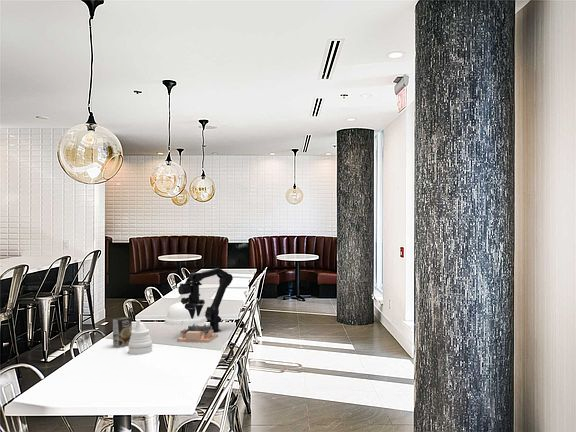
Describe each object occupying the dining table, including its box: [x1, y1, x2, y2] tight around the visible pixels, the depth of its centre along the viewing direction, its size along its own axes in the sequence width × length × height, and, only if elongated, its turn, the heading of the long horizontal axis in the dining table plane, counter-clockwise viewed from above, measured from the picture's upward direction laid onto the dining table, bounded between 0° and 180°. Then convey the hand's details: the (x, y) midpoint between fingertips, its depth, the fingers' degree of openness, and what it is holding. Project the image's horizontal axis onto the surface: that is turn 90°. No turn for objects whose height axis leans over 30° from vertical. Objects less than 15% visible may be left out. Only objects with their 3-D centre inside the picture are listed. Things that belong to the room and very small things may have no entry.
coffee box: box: [112, 316, 133, 349], centre depth 328 cm, size 9×6×16 cm
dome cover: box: [164, 301, 208, 327], centre depth 399 cm, size 32×30×14 cm
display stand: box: [176, 328, 219, 343], centre depth 341 cm, size 16×20×6 cm
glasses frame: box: [183, 323, 212, 335], centre depth 341 cm, size 10×15×4 cm
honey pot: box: [128, 319, 153, 356], centre depth 312 cm, size 13×13×18 cm
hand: (195, 317), depth 353 cm, fingers open, 9 cm apart
